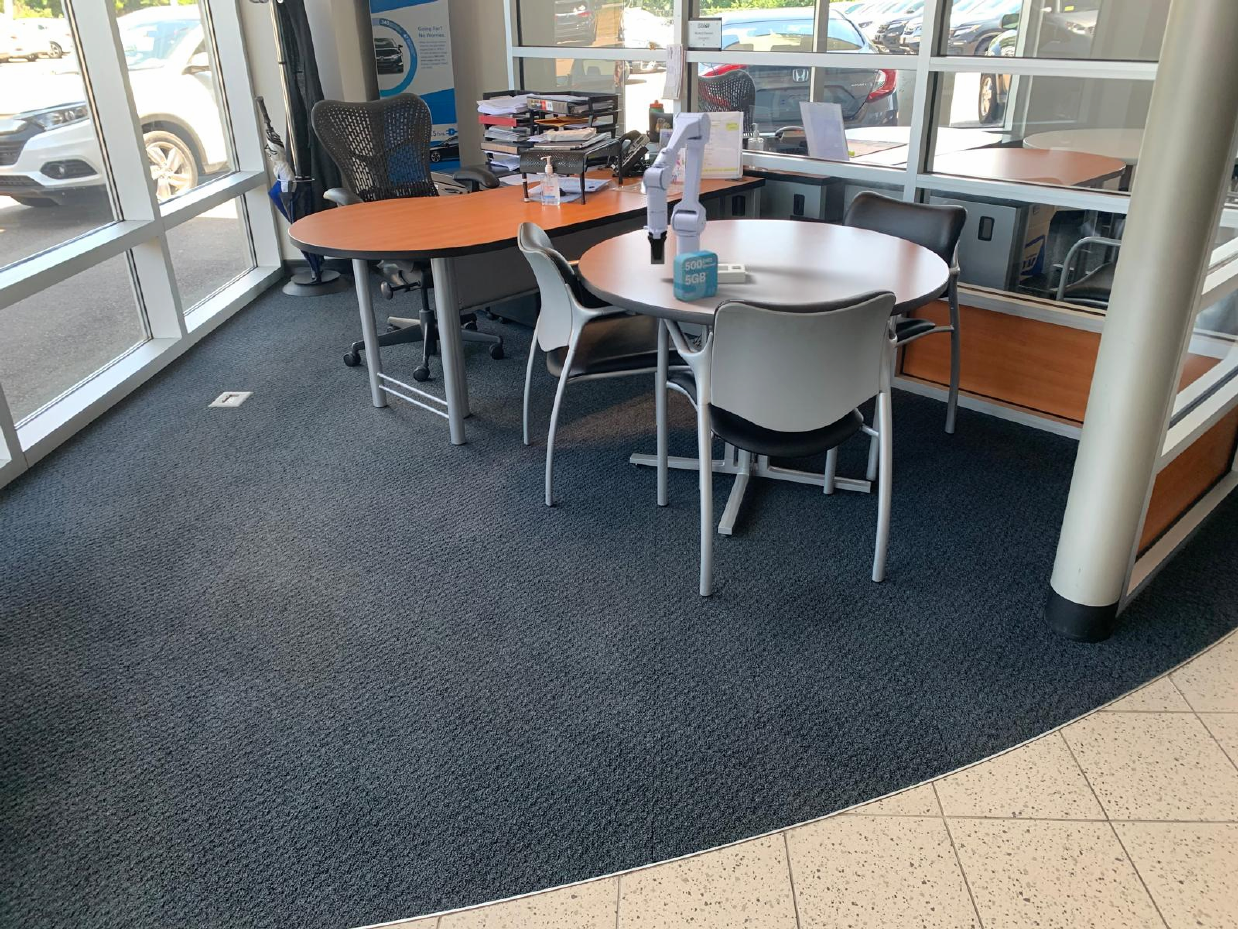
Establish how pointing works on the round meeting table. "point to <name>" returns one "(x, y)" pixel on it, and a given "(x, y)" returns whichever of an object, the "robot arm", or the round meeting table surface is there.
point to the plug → (661, 258)
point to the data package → (695, 275)
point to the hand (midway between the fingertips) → (657, 257)
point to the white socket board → (731, 273)
